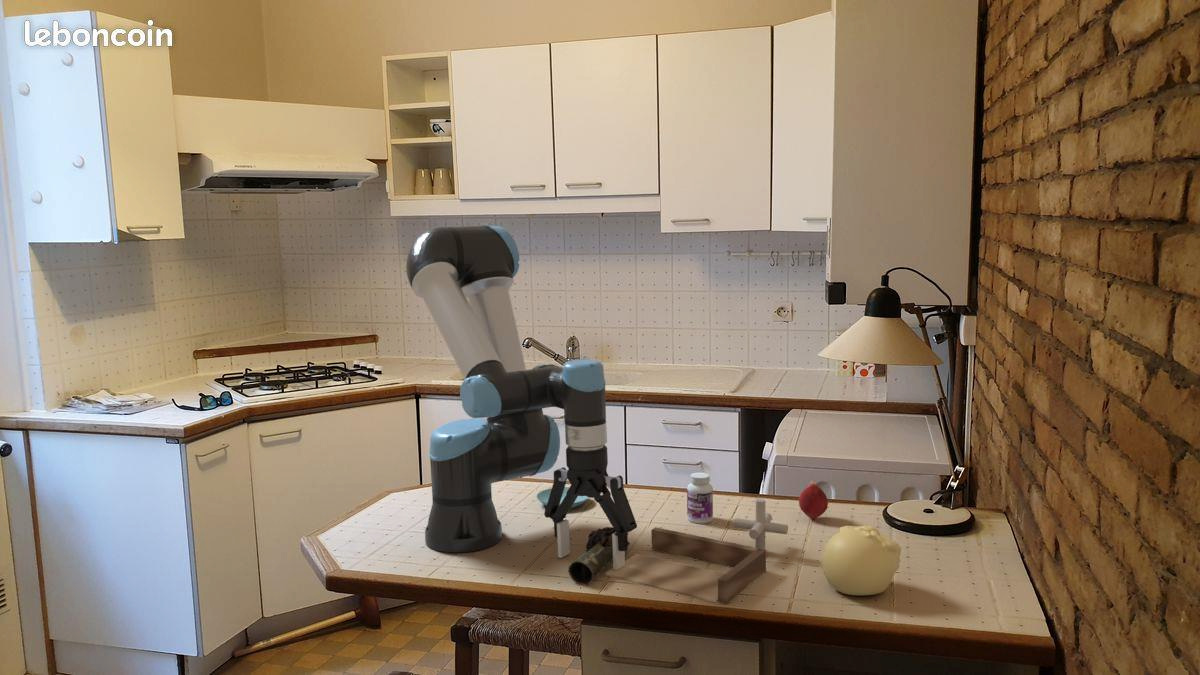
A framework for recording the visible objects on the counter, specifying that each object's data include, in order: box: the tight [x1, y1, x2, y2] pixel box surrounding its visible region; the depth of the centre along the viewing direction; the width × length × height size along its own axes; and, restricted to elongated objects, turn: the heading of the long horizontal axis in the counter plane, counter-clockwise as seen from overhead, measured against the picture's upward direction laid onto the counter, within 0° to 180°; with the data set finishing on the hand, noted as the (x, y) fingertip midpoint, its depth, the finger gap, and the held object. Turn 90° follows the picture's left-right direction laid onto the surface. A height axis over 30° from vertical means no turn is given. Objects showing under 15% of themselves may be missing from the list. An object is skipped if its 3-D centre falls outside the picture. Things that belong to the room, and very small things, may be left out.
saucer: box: [535, 486, 590, 509], centre depth 199 cm, size 12×12×2 cm
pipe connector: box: [732, 498, 789, 550], centre depth 168 cm, size 10×10×10 cm
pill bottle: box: [686, 472, 714, 524], centre depth 187 cm, size 5×5×10 cm
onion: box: [798, 481, 829, 520], centre depth 185 cm, size 6×6×8 cm
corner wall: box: [650, 527, 767, 605], centre depth 159 cm, size 23×16×4 cm
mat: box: [603, 553, 726, 604], centre depth 158 cm, size 22×11×1 cm, turn 56°
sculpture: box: [821, 525, 902, 596], centre depth 151 cm, size 11×12×11 cm
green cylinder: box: [567, 526, 630, 586], centre depth 164 cm, size 18×7×6 cm, turn 154°
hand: (591, 561), depth 165 cm, fingers open, 12 cm apart
